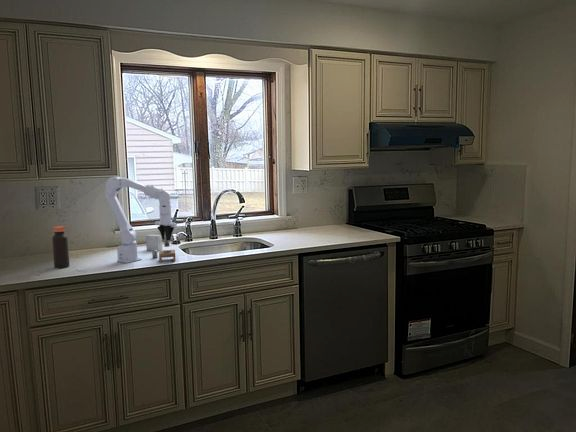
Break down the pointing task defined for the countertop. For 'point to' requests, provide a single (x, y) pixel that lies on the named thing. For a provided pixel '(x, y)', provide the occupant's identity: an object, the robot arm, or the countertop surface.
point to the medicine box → (154, 242)
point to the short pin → (154, 254)
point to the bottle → (60, 248)
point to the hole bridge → (166, 254)
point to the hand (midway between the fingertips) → (166, 239)
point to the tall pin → (166, 241)
